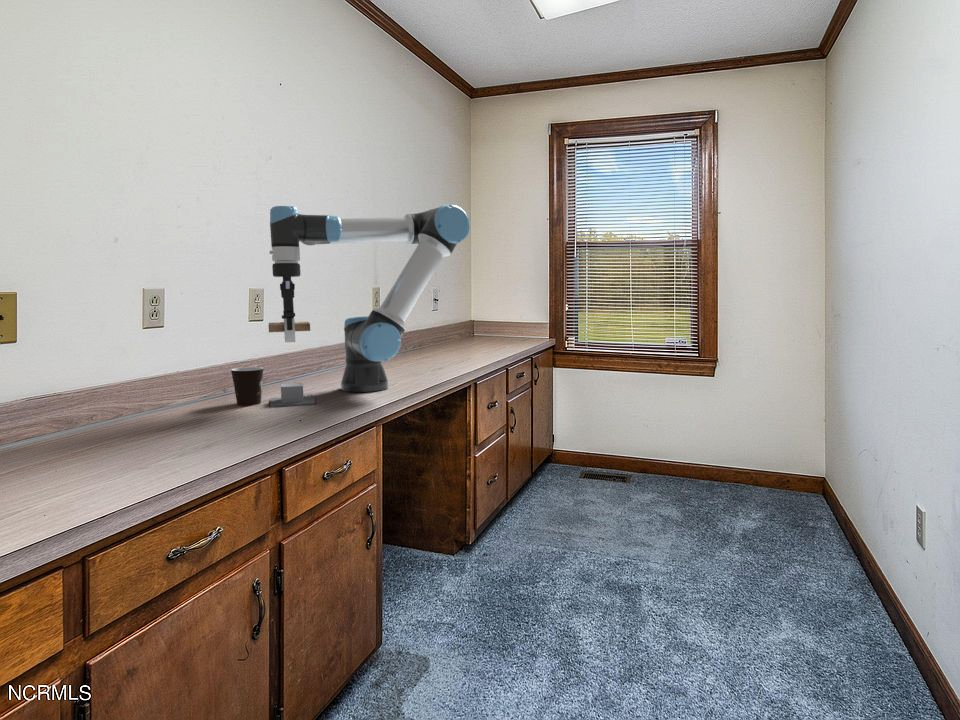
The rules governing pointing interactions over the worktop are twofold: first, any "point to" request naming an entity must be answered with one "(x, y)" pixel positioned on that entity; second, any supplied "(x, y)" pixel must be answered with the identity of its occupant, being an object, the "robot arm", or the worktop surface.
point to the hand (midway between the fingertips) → (289, 340)
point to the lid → (280, 327)
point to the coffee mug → (248, 385)
